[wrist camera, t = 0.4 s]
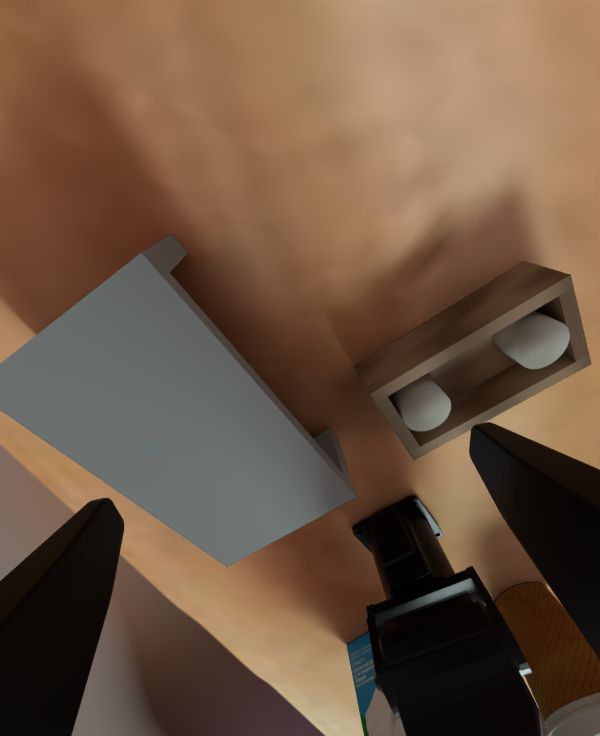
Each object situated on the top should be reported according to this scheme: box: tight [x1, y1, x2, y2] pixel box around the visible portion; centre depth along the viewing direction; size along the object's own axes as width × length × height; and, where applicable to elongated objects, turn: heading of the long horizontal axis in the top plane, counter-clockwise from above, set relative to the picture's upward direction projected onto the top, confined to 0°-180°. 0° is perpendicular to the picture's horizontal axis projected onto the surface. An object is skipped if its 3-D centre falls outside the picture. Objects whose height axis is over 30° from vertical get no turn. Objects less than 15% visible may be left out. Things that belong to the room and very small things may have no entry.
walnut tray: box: [354, 261, 591, 460], centre depth 22 cm, size 12×6×4 cm, turn 123°
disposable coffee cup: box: [495, 582, 600, 736], centre depth 35 cm, size 10×10×12 cm
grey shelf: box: [0, 234, 357, 567], centre depth 20 cm, size 17×10×6 cm, turn 33°
